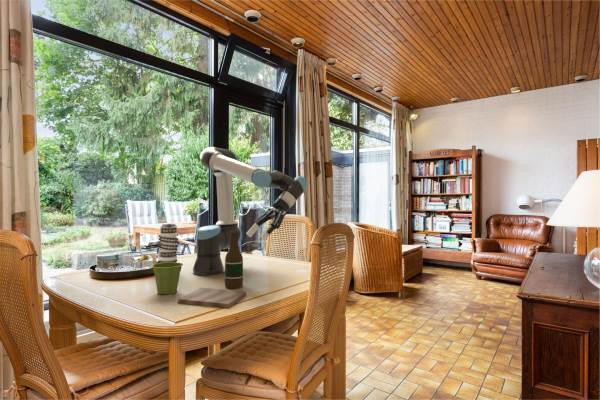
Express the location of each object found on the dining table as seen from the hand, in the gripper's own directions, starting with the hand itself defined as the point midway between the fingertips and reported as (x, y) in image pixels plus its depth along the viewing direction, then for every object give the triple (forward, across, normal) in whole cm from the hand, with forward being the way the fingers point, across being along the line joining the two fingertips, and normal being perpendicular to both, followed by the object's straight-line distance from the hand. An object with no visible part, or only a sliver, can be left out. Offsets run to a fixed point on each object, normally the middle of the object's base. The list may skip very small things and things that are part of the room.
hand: (254, 237), depth 151 cm
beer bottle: (+22, +1, -8) cm, 23 cm away
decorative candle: (+34, +40, +5) cm, 53 cm away
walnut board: (+31, -12, +2) cm, 33 cm away
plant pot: (+40, +7, +10) cm, 42 cm away
